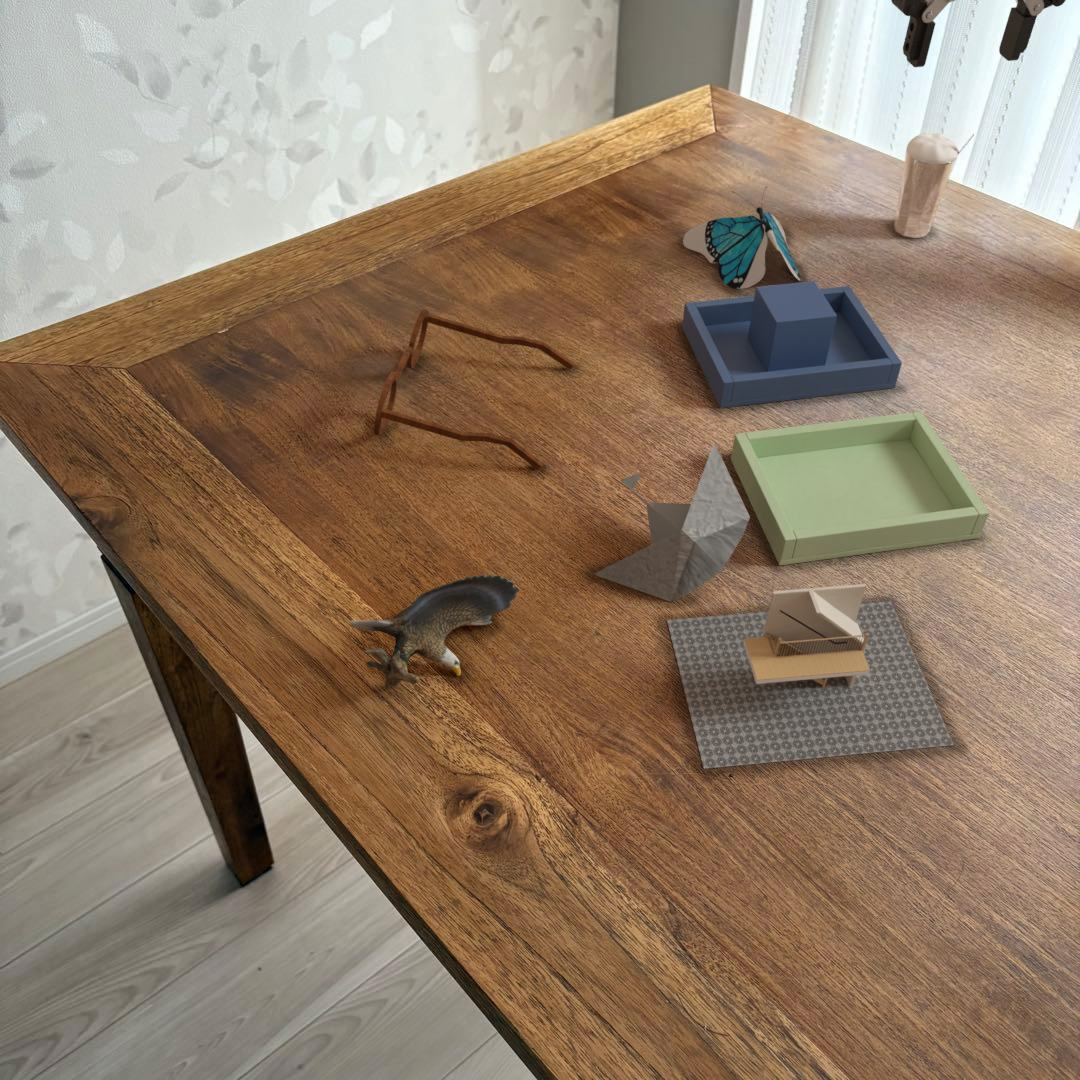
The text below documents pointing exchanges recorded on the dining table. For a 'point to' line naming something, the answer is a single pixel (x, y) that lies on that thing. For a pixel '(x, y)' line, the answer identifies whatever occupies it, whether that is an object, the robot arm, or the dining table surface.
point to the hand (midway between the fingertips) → (961, 60)
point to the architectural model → (804, 680)
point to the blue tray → (743, 380)
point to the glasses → (411, 362)
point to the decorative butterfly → (740, 246)
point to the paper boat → (685, 537)
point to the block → (791, 326)
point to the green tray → (855, 487)
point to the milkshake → (924, 182)
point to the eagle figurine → (437, 623)
